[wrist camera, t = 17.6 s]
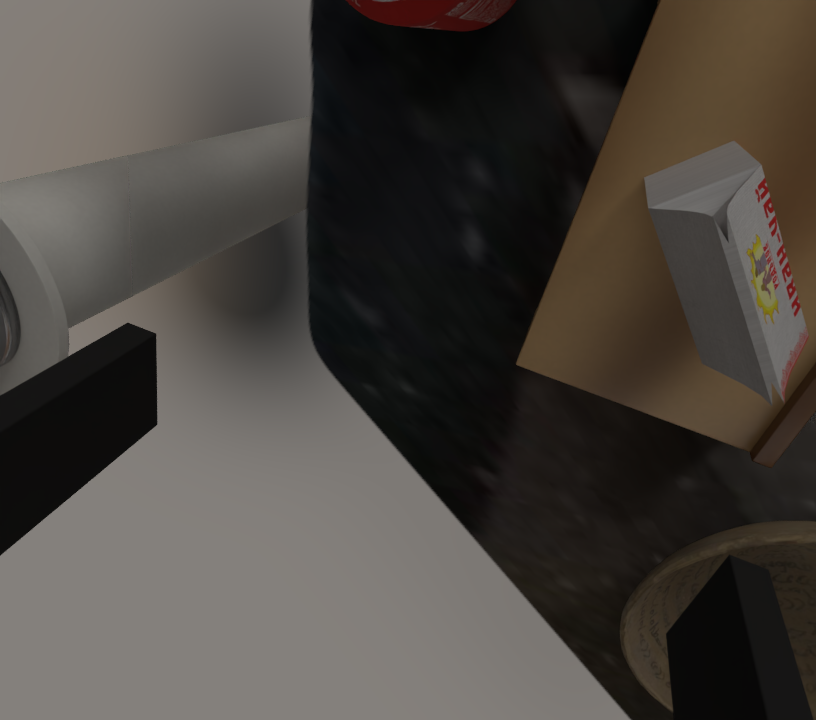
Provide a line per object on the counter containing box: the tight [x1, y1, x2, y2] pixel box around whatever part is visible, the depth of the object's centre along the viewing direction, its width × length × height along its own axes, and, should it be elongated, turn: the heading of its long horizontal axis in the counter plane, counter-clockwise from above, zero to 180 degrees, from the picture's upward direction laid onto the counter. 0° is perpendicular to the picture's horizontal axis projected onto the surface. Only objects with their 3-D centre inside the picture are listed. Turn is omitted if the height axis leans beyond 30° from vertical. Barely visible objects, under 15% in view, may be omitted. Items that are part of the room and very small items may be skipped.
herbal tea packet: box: [644, 141, 809, 406], centre depth 22 cm, size 4×7×10 cm, turn 28°
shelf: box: [516, 0, 816, 468], centre depth 27 cm, size 14×20×5 cm
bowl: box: [620, 521, 816, 720], centre depth 34 cm, size 18×18×8 cm
